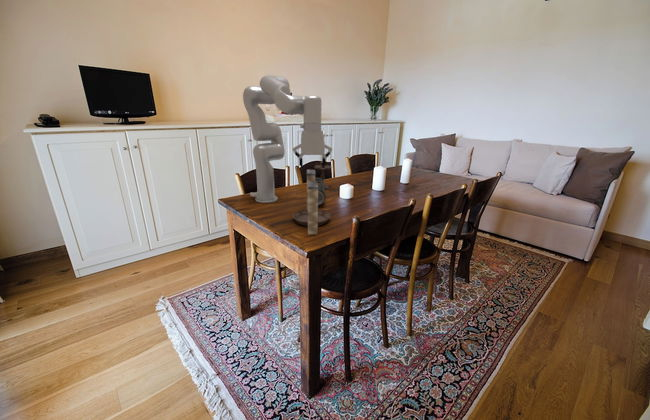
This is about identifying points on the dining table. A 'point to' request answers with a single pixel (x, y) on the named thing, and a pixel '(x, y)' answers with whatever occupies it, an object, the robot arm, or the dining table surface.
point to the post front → (312, 208)
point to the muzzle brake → (320, 190)
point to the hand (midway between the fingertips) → (312, 167)
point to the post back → (310, 180)
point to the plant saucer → (303, 217)
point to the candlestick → (323, 169)
